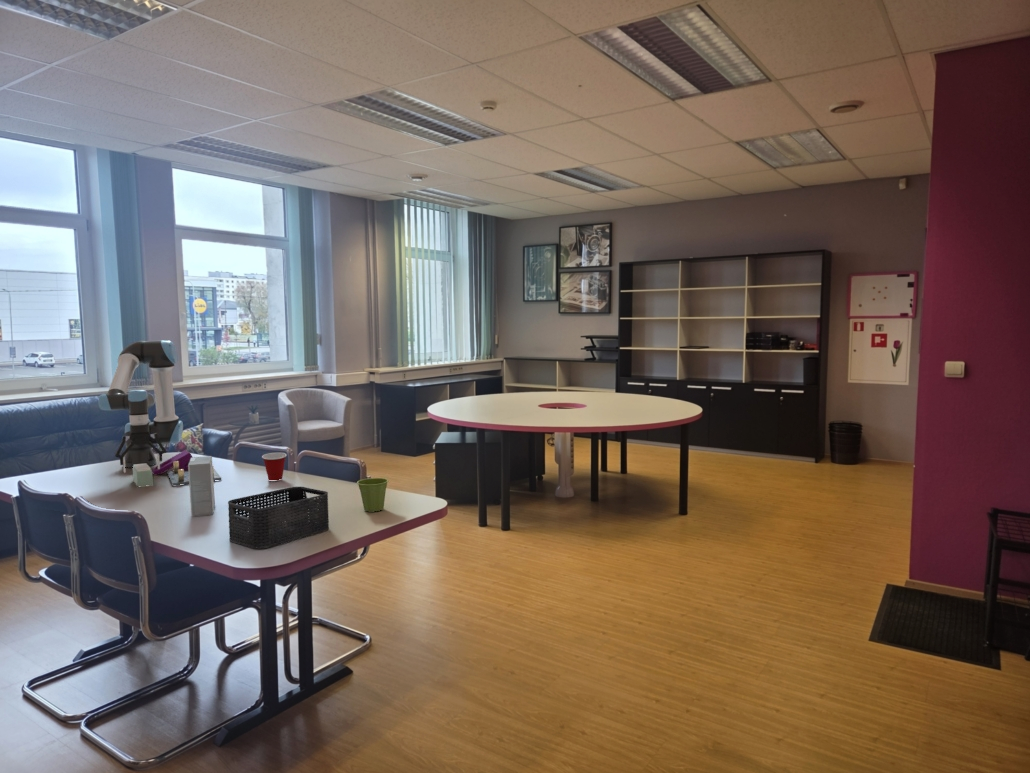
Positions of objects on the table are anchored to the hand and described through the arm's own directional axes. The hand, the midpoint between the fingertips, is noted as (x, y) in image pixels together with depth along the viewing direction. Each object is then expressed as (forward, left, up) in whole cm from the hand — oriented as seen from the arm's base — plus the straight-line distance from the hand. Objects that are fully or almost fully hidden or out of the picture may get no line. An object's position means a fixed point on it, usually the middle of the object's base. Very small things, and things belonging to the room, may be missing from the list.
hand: (141, 470), depth 304 cm
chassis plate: (0, +21, -6) cm, 22 cm away
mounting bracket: (-21, +14, -7) cm, 26 cm away
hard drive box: (+68, +17, -6) cm, 70 cm away
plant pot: (+104, +72, -6) cm, 126 cm away
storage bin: (+116, +35, -7) cm, 121 cm away
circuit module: (0, 0, -6) cm, 6 cm away
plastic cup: (+29, +52, -6) cm, 60 cm away
